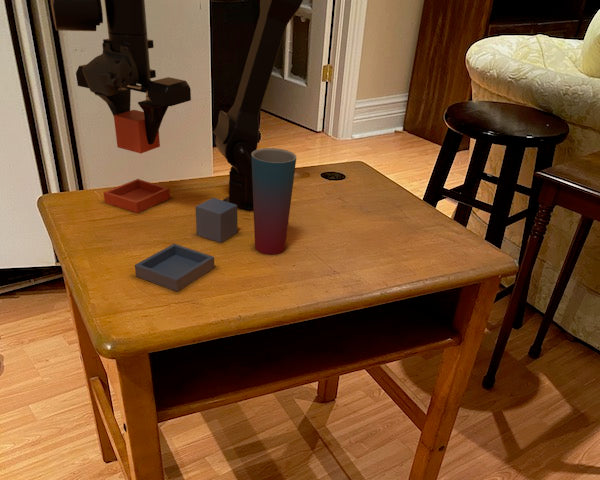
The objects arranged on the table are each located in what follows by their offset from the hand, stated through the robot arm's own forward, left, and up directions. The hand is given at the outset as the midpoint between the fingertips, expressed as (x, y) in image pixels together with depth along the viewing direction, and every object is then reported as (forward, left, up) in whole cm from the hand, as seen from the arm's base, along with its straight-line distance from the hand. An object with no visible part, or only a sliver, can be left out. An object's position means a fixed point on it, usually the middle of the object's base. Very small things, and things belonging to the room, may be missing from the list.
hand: (138, 140), depth 98 cm
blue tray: (+15, +19, -12) cm, 27 cm away
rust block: (0, 0, -1) cm, 1 cm away
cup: (-1, +26, -12) cm, 29 cm away
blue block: (0, +16, -12) cm, 20 cm away
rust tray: (-3, -4, -12) cm, 13 cm away
